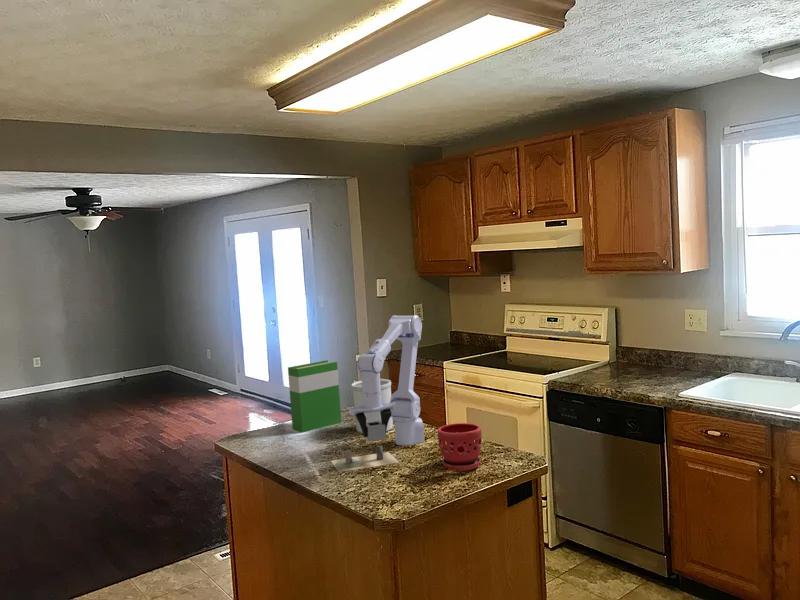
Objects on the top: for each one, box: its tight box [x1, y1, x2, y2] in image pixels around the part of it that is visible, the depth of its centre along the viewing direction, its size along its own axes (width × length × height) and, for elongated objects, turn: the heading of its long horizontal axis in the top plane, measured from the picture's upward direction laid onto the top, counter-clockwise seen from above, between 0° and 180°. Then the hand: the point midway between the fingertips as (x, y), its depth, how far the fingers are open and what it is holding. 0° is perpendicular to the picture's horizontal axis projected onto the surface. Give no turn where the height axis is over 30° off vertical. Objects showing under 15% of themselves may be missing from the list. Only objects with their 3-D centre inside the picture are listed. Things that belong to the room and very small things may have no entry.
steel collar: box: [363, 421, 387, 442], centre depth 208 cm, size 6×6×4 cm
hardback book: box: [287, 359, 342, 433], centre depth 257 cm, size 18×7×24 cm, turn 129°
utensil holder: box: [350, 378, 394, 434], centre depth 248 cm, size 15×15×18 cm
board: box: [330, 445, 400, 473], centre depth 207 cm, size 19×12×6 cm, turn 108°
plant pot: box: [437, 422, 483, 472], centre depth 200 cm, size 13×13×12 cm
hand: (374, 434), depth 208 cm, fingers closed on steel collar, 6 cm apart
